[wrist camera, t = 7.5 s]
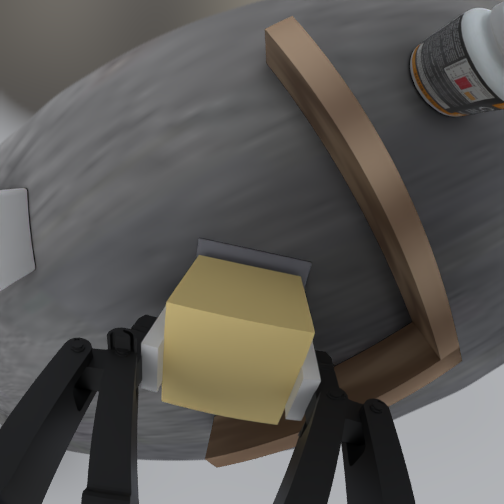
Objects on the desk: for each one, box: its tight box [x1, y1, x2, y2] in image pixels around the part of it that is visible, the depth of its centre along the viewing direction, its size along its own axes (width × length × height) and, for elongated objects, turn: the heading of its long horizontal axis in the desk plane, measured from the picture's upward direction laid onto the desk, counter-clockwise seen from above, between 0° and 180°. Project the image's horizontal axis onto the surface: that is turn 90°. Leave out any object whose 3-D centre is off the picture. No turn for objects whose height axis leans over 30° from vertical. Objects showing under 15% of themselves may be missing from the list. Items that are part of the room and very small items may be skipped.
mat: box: [196, 238, 312, 289], centre depth 19 cm, size 10×10×1 cm
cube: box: [162, 255, 315, 425], centre depth 15 cm, size 6×6×6 cm
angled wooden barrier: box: [205, 16, 462, 467], centre depth 17 cm, size 22×20×5 cm
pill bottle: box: [410, 2, 504, 117], centre depth 9 cm, size 6×6×10 cm
